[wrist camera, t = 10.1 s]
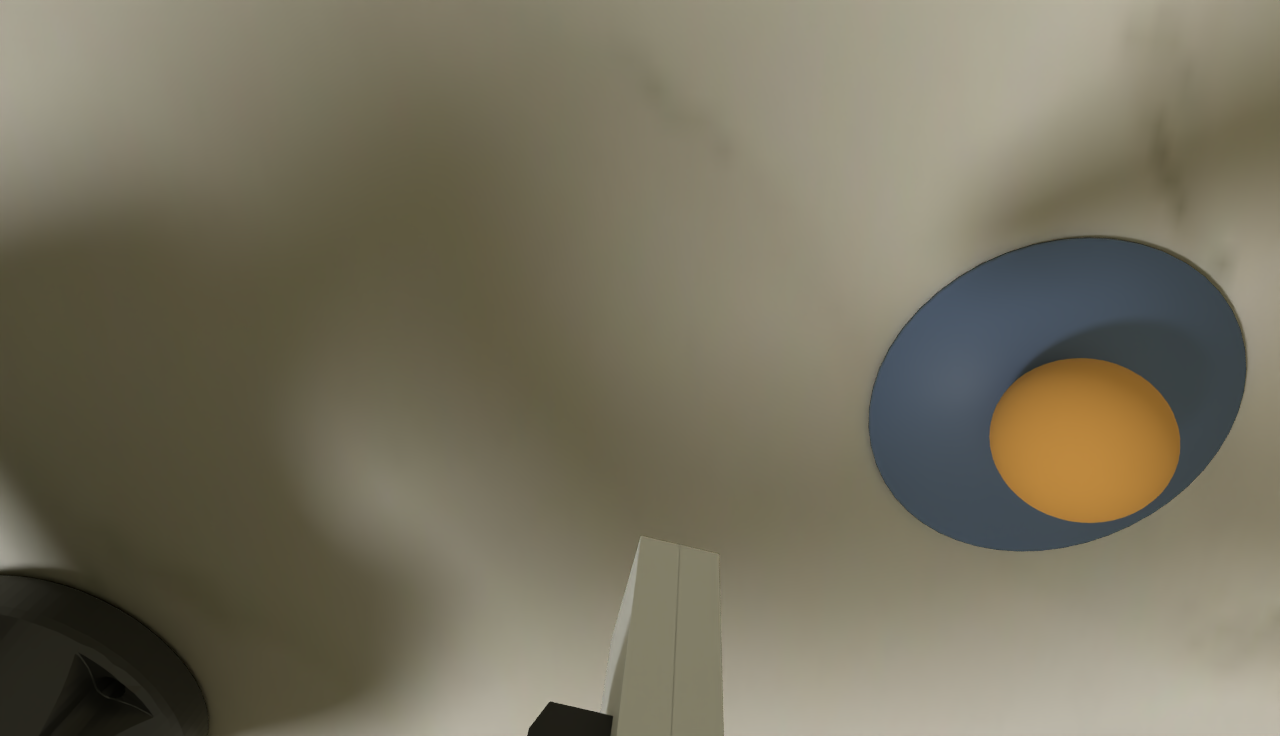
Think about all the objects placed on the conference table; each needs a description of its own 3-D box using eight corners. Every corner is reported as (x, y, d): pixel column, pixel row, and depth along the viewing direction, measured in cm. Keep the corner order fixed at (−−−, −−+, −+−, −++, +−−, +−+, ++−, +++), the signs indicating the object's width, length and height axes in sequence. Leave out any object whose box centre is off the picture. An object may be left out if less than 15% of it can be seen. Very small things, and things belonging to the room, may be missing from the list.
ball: (964, 441, 29) (961, 509, 25) (1028, 315, 27) (1037, 364, 22) (1112, 499, 28) (1139, 583, 23) (1193, 371, 25) (1241, 436, 21)
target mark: (822, 507, 30) (822, 509, 30) (950, 196, 25) (952, 198, 24) (1126, 578, 31) (1128, 582, 30) (1322, 289, 25) (1327, 291, 25)
